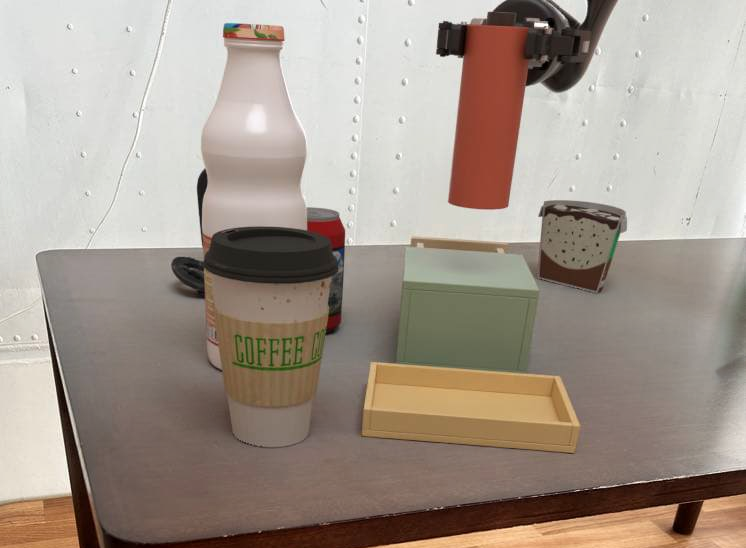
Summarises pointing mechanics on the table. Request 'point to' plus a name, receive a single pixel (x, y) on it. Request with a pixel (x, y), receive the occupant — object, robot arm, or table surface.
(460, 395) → the tray
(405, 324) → the cabinet
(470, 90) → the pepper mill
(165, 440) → the table surface
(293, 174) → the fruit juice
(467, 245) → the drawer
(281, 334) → the coffee cup
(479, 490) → the table surface
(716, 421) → the table surface
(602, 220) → the food container
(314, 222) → the beverage can
